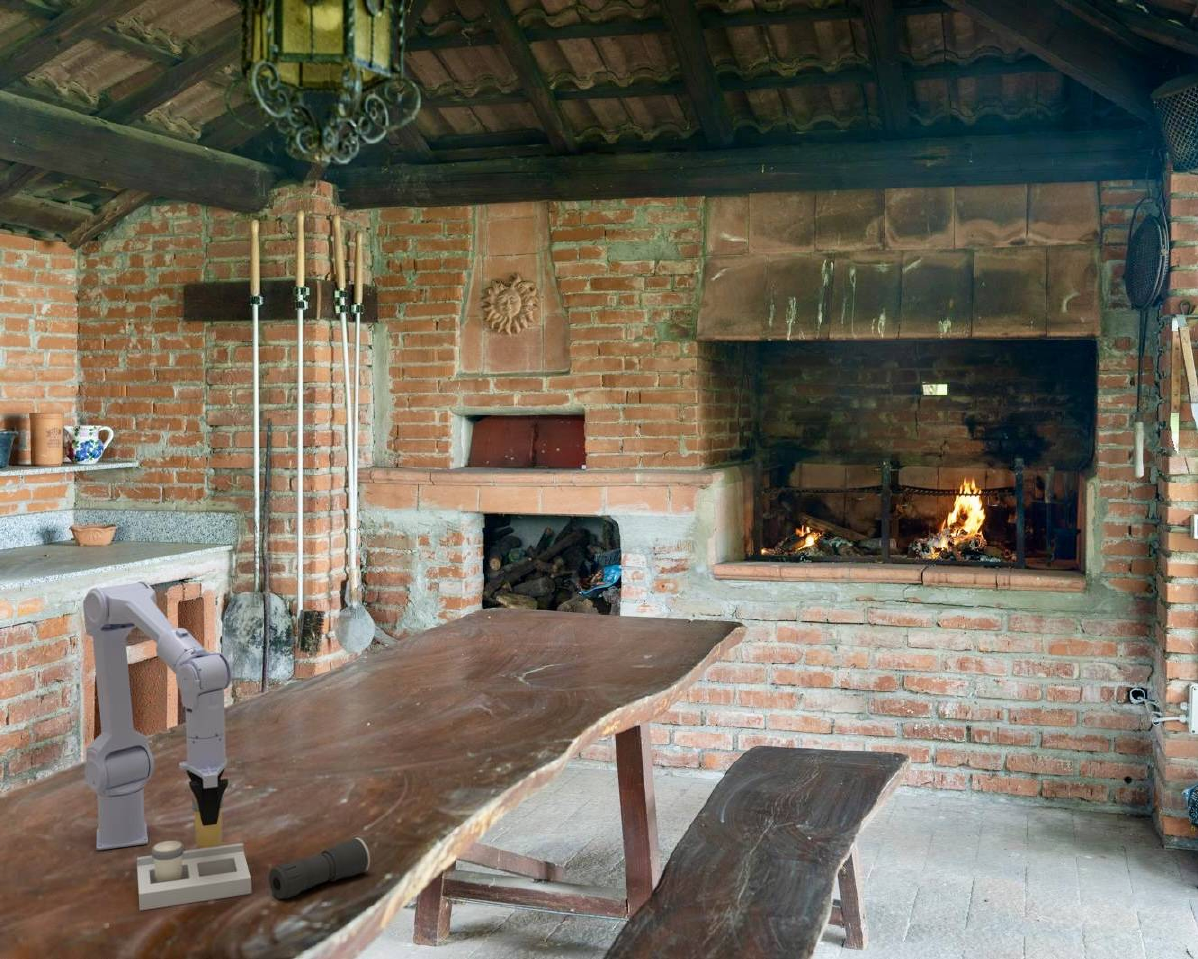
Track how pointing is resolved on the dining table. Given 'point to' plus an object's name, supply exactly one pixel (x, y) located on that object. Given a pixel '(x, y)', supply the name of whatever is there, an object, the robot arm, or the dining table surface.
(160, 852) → the cream grey-rimmed peg
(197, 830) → the yellow cylinder grey rim
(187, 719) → the robot arm
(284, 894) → the flashlight
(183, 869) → the housing
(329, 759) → the dining table surface
